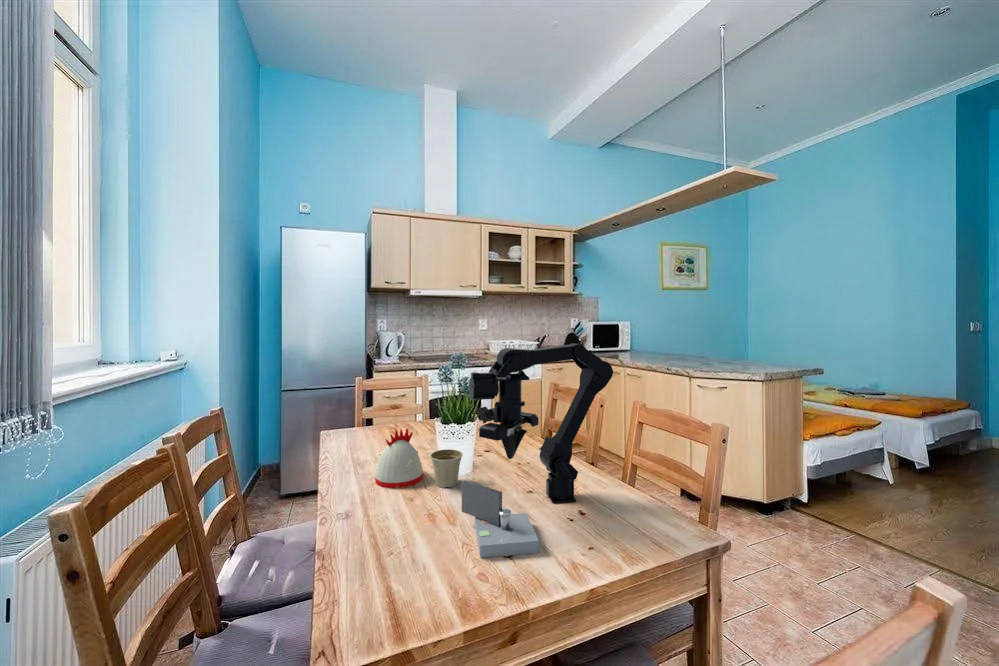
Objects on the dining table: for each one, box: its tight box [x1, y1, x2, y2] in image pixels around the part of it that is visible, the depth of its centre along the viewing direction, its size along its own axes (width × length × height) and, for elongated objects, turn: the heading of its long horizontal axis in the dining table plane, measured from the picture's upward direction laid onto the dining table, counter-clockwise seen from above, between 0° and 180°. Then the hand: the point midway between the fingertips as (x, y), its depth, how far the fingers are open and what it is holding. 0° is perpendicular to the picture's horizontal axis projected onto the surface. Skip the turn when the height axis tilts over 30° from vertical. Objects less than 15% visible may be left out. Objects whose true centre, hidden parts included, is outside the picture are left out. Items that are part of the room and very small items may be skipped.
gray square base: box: [474, 512, 540, 559], centre depth 87 cm, size 12×12×3 cm
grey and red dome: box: [374, 428, 424, 489], centre depth 121 cm, size 14×14×15 cm
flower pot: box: [429, 448, 464, 488], centre depth 117 cm, size 9×9×9 cm
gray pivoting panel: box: [461, 480, 512, 529], centre depth 91 cm, size 13×3×7 cm, turn 53°
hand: (510, 458), depth 104 cm, fingers closed
